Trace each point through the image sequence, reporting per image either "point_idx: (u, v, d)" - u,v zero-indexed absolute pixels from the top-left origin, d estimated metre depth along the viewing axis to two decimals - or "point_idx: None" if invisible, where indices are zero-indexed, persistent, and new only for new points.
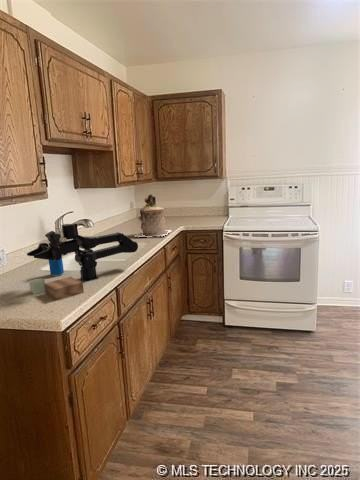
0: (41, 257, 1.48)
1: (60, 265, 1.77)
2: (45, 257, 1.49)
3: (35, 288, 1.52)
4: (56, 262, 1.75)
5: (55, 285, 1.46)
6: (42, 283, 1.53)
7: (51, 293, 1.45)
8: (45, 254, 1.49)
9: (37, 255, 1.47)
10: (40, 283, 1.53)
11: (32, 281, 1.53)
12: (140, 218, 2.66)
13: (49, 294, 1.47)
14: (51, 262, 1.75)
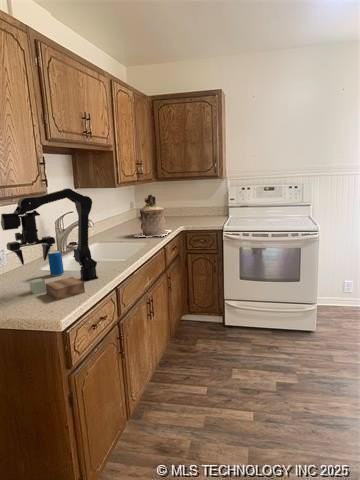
0: (20, 259, 1.48)
1: (60, 265, 1.77)
2: (19, 256, 1.47)
3: (35, 288, 1.52)
4: (56, 262, 1.75)
5: (56, 285, 1.46)
6: (42, 283, 1.53)
7: (53, 293, 1.45)
8: (18, 254, 1.48)
9: None
10: (40, 283, 1.53)
11: (32, 281, 1.53)
12: (140, 218, 2.66)
13: (50, 294, 1.47)
14: (51, 262, 1.75)
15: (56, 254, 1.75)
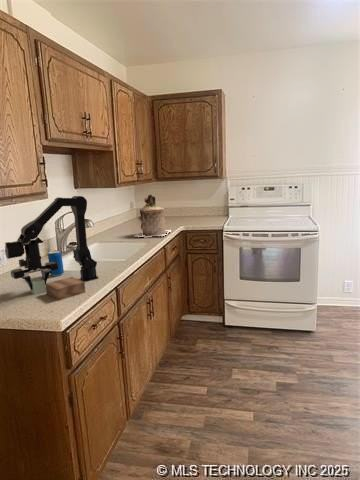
0: (29, 285, 1.51)
1: (60, 265, 1.77)
2: (28, 282, 1.51)
3: (35, 288, 1.52)
4: (56, 262, 1.75)
5: (57, 285, 1.46)
6: (42, 283, 1.53)
7: (53, 293, 1.45)
8: (27, 280, 1.52)
9: None
10: (40, 283, 1.53)
11: (32, 281, 1.53)
12: (140, 218, 2.66)
13: (51, 294, 1.47)
14: None
15: (56, 254, 1.75)
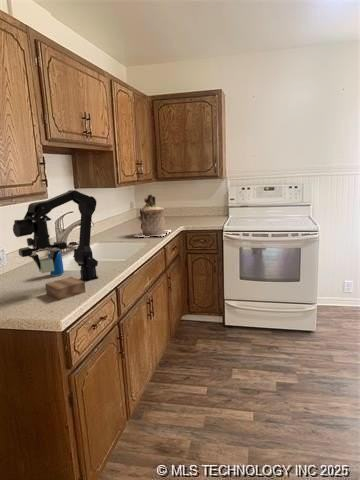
0: (37, 264, 1.48)
1: (60, 265, 1.77)
2: (36, 261, 1.47)
3: (43, 267, 1.48)
4: (56, 262, 1.75)
5: (57, 285, 1.46)
6: (50, 262, 1.50)
7: (53, 293, 1.45)
8: (35, 259, 1.48)
9: None
10: (49, 262, 1.49)
11: (40, 260, 1.50)
12: (140, 218, 2.66)
13: (51, 294, 1.47)
14: None
15: None
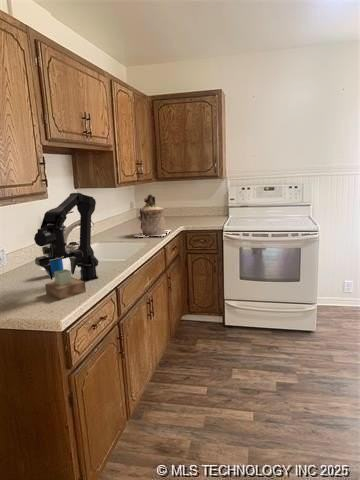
0: (49, 274, 1.44)
1: (60, 265, 1.77)
2: (48, 271, 1.44)
3: (61, 279, 1.46)
4: (56, 262, 1.75)
5: (57, 285, 1.46)
6: (68, 274, 1.48)
7: (54, 293, 1.45)
8: (47, 269, 1.45)
9: (49, 276, 1.46)
10: (66, 274, 1.48)
11: (57, 272, 1.48)
12: (140, 218, 2.67)
13: (51, 294, 1.47)
14: (51, 262, 1.75)
15: None
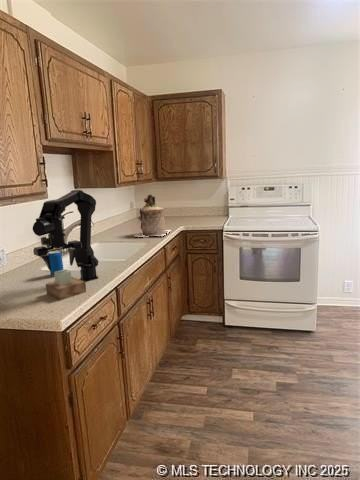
0: (47, 264, 1.43)
1: (60, 265, 1.77)
2: (46, 261, 1.43)
3: (61, 279, 1.46)
4: (56, 262, 1.75)
5: (58, 285, 1.46)
6: (68, 274, 1.48)
7: (54, 293, 1.45)
8: (45, 259, 1.44)
9: None
10: (66, 274, 1.47)
11: (57, 272, 1.48)
12: (140, 218, 2.67)
13: (51, 294, 1.47)
14: (51, 262, 1.75)
15: (56, 254, 1.75)
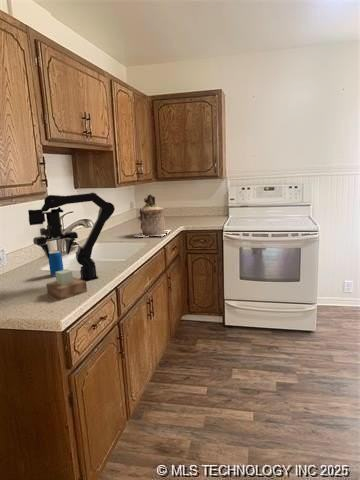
0: (46, 253, 1.58)
1: (60, 265, 1.77)
2: (45, 250, 1.57)
3: (63, 279, 1.46)
4: (56, 262, 1.75)
5: (58, 285, 1.46)
6: (70, 274, 1.48)
7: (55, 293, 1.45)
8: (44, 248, 1.58)
9: (46, 255, 1.59)
10: (68, 274, 1.47)
11: (59, 272, 1.48)
12: (140, 218, 2.67)
13: (52, 294, 1.47)
14: (51, 262, 1.75)
15: (56, 254, 1.75)
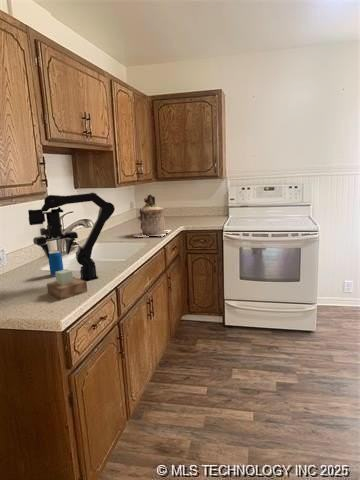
0: (46, 253, 1.58)
1: (60, 265, 1.77)
2: (45, 250, 1.57)
3: (63, 279, 1.46)
4: (56, 262, 1.75)
5: (59, 285, 1.46)
6: (70, 274, 1.48)
7: (56, 293, 1.45)
8: (44, 248, 1.58)
9: (46, 255, 1.59)
10: (68, 274, 1.48)
11: (59, 272, 1.48)
12: (140, 218, 2.67)
13: (53, 294, 1.47)
14: (51, 262, 1.75)
15: (56, 254, 1.75)
